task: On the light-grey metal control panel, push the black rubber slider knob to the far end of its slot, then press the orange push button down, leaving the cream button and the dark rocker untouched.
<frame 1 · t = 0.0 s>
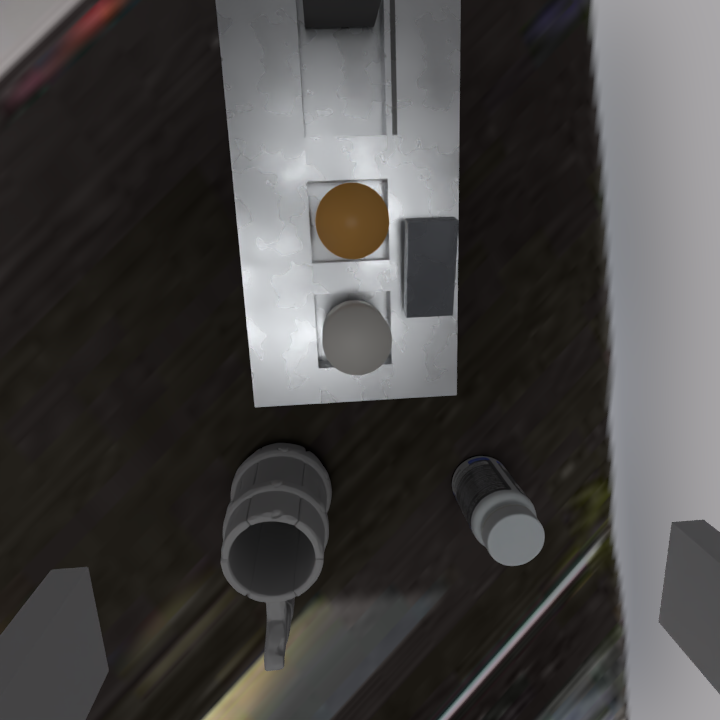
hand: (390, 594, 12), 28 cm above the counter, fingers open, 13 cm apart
pill bottle: (478, 479, 43), on the counter
mug: (284, 504, 42), on the counter
orange button: (351, 221, 31), point 6 cm above the counter, slide at 0.0 cm
rocker: (429, 268, 32), point 6 cm above the counter, hinge at 12.0°
panel: (345, 192, 36), on the counter
cream button: (355, 336, 33), point 6 cm above the counter, slide at 0.0 cm
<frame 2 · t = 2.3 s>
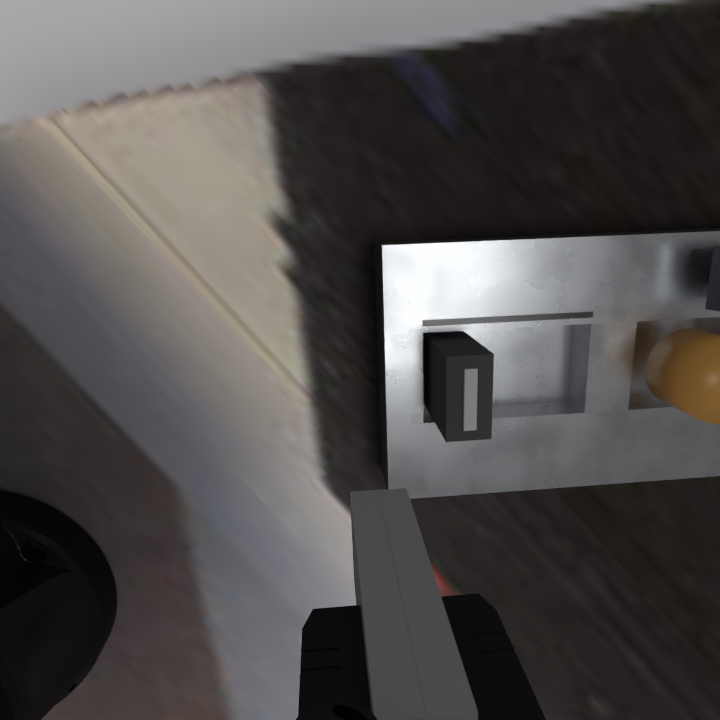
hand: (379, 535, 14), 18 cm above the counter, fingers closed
orange button: (702, 374, 26), point 6 cm above the counter, slide at 0.0 cm
slider knob: (455, 382, 27), point 5 cm above the counter, slide at 0.0 cm
panel: (602, 348, 32), on the counter
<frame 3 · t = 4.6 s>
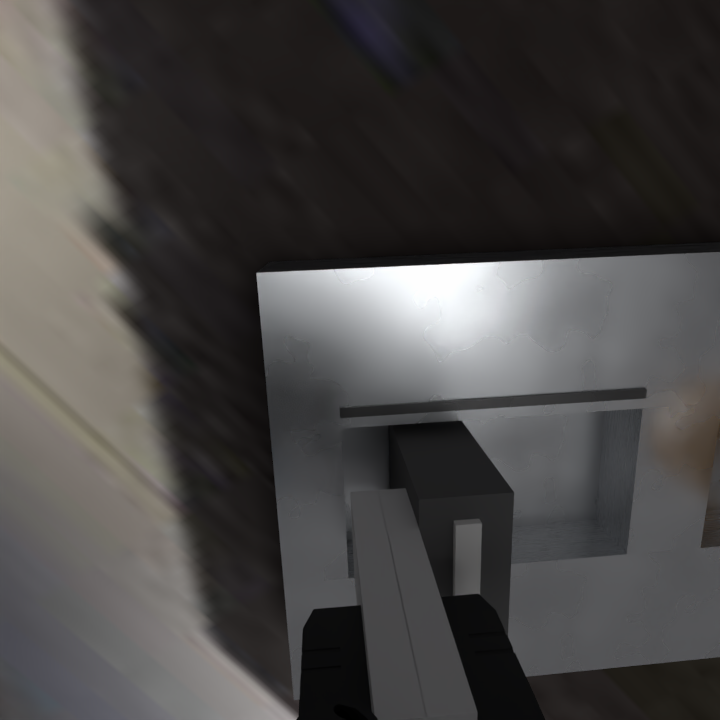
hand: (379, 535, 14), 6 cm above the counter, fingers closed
slider knob: (441, 517, 15), point 5 cm above the counter, slide at 1.2 cm, touching gripper
panel: (647, 428, 20), on the counter
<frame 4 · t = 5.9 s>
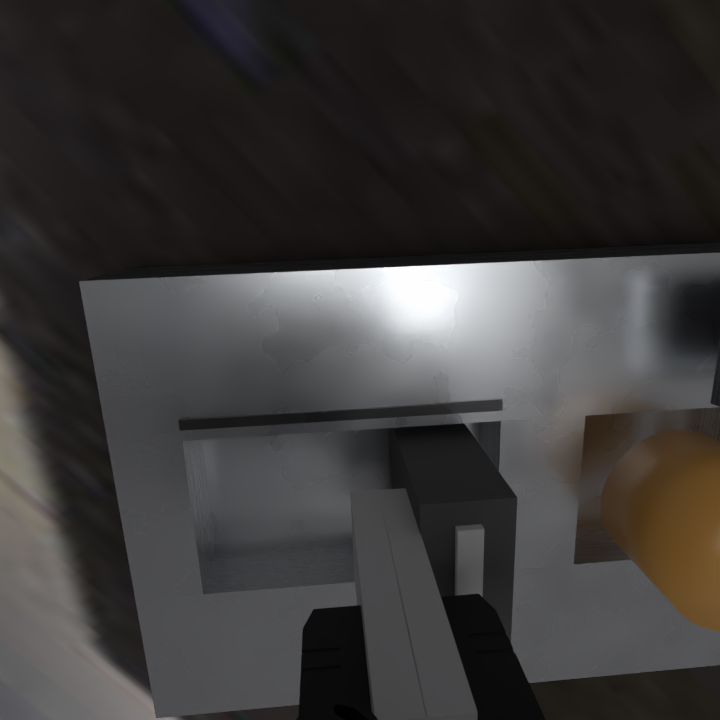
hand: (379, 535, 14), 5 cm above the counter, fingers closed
orange button: (705, 523, 14), point 6 cm above the counter, slide at 0.0 cm
slider knob: (443, 522, 14), point 5 cm above the counter, slide at 5.6 cm, touching gripper
panel: (541, 438, 20), on the counter
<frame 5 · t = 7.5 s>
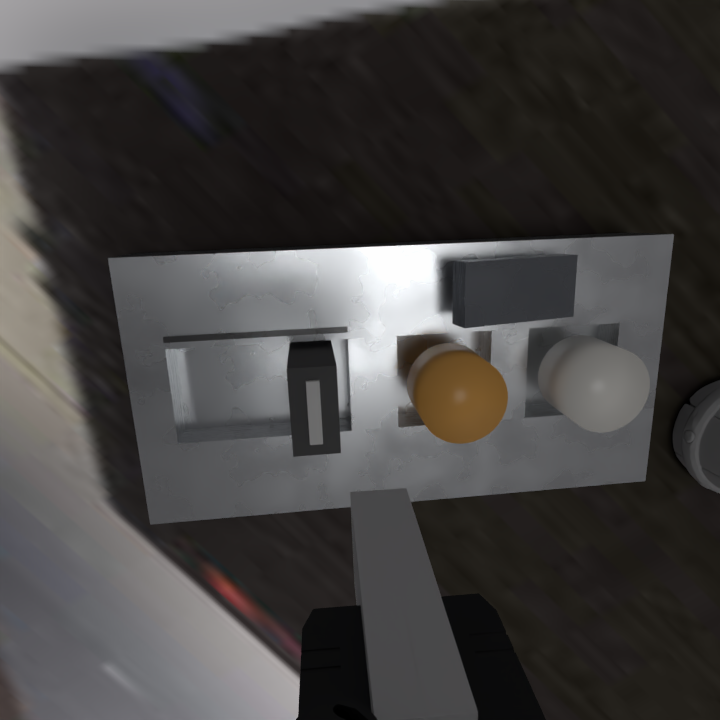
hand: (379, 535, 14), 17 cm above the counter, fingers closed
orange button: (454, 391, 25), point 6 cm above the counter, slide at 0.0 cm
slider knob: (313, 394, 26), point 5 cm above the counter, slide at 5.6 cm
rocker: (514, 289, 25), point 6 cm above the counter, hinge at 12.0°
panel: (394, 362, 31), on the counter
cream button: (591, 382, 26), point 6 cm above the counter, slide at 0.0 cm
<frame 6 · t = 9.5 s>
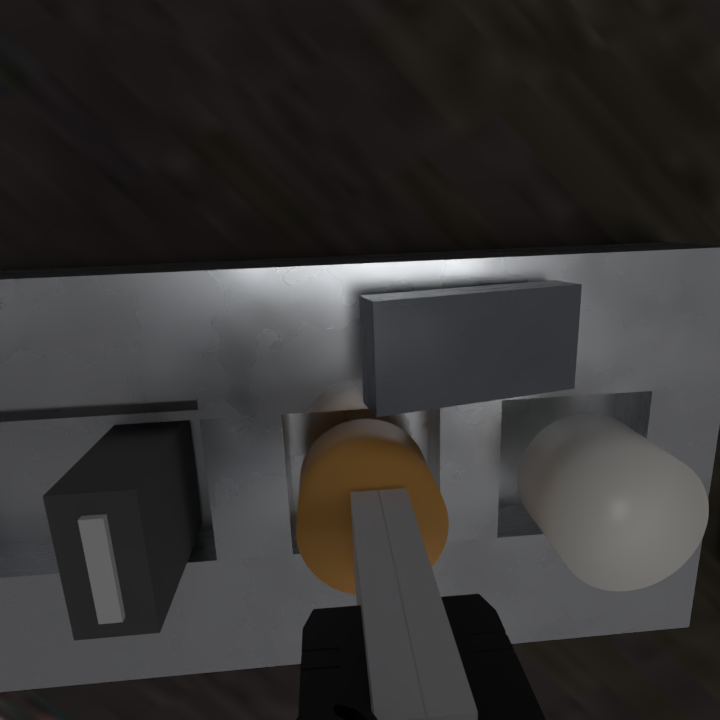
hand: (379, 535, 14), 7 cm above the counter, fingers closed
orange button: (368, 502, 16), point 5 cm above the counter, slide at 0.7 cm, touching gripper
slider knob: (137, 514, 16), point 5 cm above the counter, slide at 5.6 cm
rocker: (471, 344, 14), point 6 cm above the counter, hinge at 12.0°
panel: (305, 436, 21), on the counter
cream button: (604, 496, 15), point 6 cm above the counter, slide at 0.0 cm
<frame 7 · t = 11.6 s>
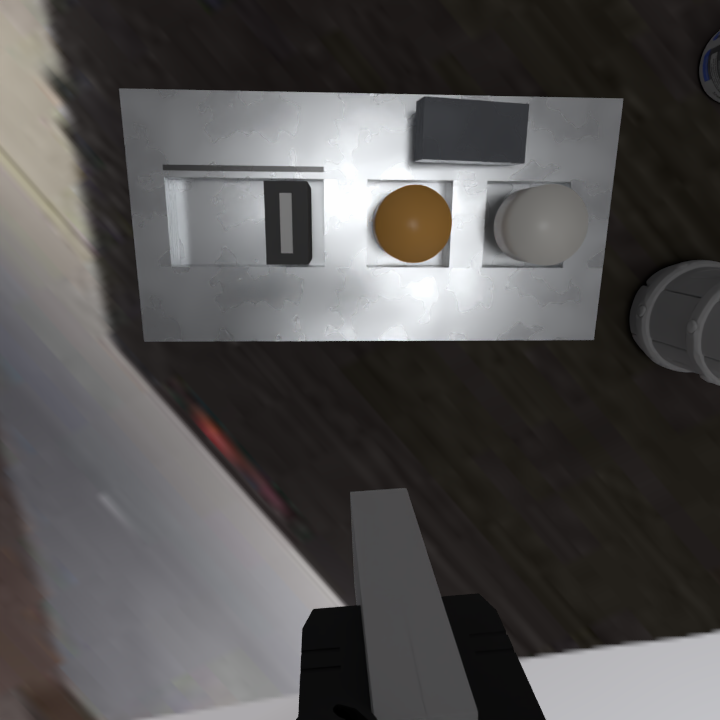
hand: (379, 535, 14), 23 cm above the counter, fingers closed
mug: (702, 313, 37), on the counter
orange button: (410, 224, 30), point 4 cm above the counter, slide at 1.5 cm
slider knob: (290, 223, 29), point 5 cm above the counter, slide at 5.6 cm
rocker: (471, 133, 28), point 6 cm above the counter, hinge at 12.0°
panel: (370, 224, 34), on the counter
cream button: (538, 225, 29), point 6 cm above the counter, slide at 0.0 cm
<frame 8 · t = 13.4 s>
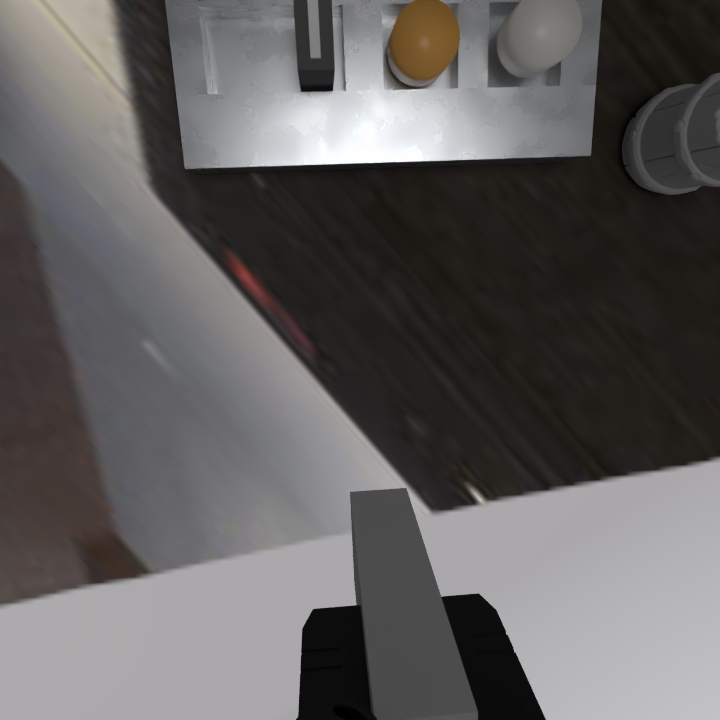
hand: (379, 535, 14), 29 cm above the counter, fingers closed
mug: (688, 144, 41), on the counter
orange button: (422, 44, 33), point 4 cm above the counter, slide at 1.5 cm
slider knob: (314, 44, 33), point 5 cm above the counter, slide at 5.6 cm
panel: (383, 65, 38), on the counter
cream button: (537, 34, 32), point 6 cm above the counter, slide at 0.0 cm
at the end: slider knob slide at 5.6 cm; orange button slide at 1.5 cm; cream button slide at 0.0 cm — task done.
